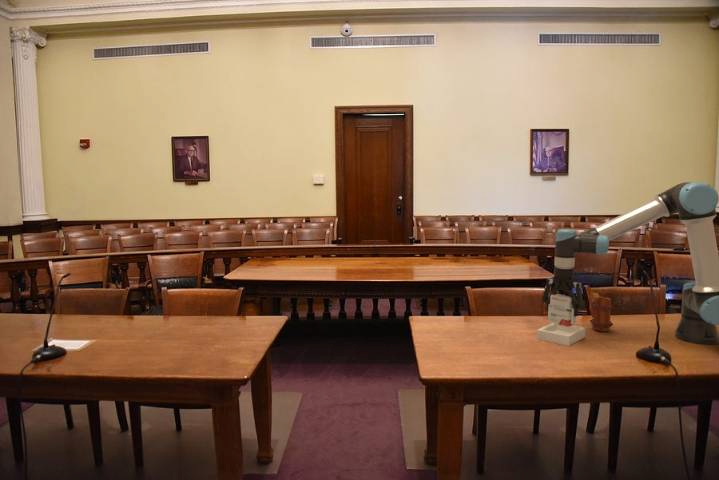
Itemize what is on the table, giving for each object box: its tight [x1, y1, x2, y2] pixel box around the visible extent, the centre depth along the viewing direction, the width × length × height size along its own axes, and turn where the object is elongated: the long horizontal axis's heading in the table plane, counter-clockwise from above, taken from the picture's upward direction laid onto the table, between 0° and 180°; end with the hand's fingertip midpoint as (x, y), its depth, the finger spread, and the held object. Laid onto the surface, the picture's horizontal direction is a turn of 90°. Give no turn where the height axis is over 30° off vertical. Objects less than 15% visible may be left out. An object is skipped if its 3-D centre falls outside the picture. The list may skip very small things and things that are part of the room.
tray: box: [536, 323, 586, 347], centre depth 204 cm, size 13×17×4 cm
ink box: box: [548, 293, 575, 327], centre depth 203 cm, size 8×5×12 cm, turn 39°
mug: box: [588, 292, 614, 333], centre depth 217 cm, size 15×8×15 cm, turn 179°
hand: (561, 321), depth 204 cm, fingers closed on ink box, 9 cm apart
